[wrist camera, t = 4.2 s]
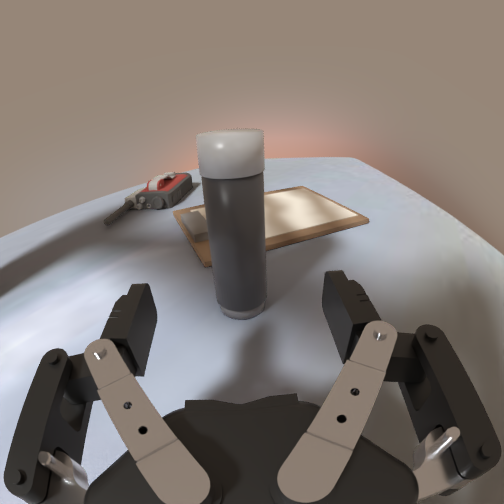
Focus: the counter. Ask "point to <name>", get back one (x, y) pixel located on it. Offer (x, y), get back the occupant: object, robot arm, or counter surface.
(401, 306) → the counter surface
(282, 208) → the clipboard
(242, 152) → the bottle
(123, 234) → the counter surface
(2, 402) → the counter surface
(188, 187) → the walkie-talkie
